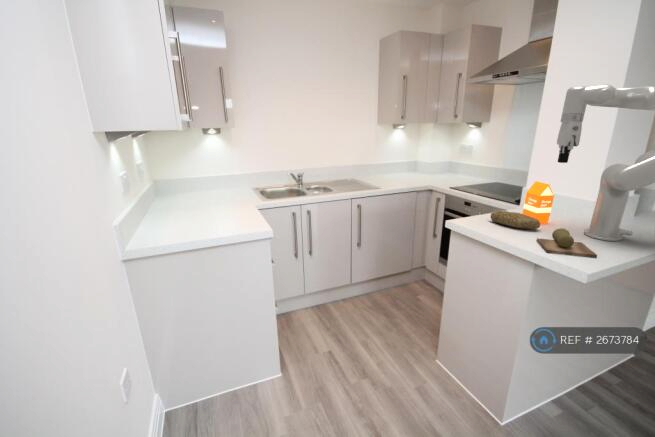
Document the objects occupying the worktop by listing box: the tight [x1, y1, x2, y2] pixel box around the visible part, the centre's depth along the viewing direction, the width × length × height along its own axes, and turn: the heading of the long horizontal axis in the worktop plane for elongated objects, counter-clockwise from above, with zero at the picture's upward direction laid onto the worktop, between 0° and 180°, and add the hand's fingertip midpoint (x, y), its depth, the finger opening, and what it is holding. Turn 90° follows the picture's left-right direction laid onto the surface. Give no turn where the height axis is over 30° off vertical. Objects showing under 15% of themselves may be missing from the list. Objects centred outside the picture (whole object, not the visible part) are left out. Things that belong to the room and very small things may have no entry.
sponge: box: [490, 210, 541, 230], centre depth 149 cm, size 13×8×20 cm
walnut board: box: [536, 237, 598, 259], centre depth 122 cm, size 16×13×1 cm
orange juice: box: [522, 180, 555, 225], centre depth 153 cm, size 8×9×20 cm
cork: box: [551, 227, 575, 248], centre depth 123 cm, size 6×6×11 cm
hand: (562, 162), depth 134 cm, fingers closed
